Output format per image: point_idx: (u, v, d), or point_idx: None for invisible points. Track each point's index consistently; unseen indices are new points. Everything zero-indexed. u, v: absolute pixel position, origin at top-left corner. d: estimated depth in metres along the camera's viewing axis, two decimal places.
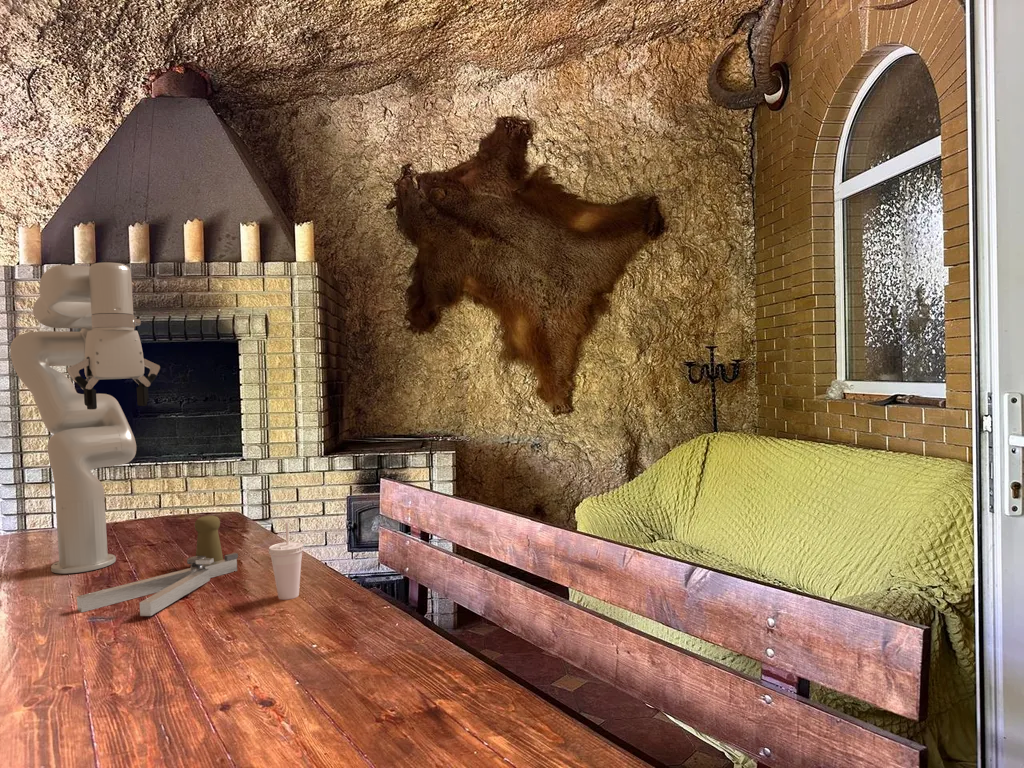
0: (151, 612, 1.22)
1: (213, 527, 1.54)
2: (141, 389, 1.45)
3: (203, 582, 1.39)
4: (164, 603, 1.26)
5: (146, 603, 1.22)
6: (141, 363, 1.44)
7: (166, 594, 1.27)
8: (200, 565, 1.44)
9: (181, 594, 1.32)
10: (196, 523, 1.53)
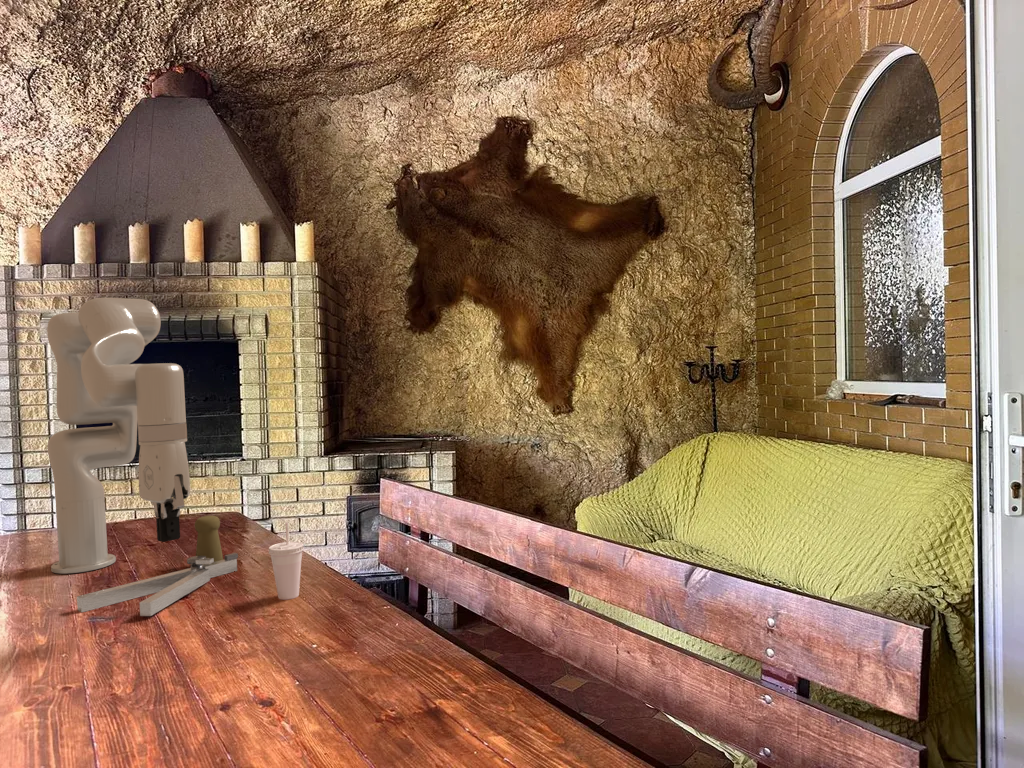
0: (151, 612, 1.22)
1: (213, 527, 1.54)
2: None
3: (203, 582, 1.39)
4: (164, 603, 1.26)
5: (146, 603, 1.22)
6: None
7: (166, 594, 1.27)
8: (200, 565, 1.44)
9: (181, 594, 1.32)
10: (196, 523, 1.53)
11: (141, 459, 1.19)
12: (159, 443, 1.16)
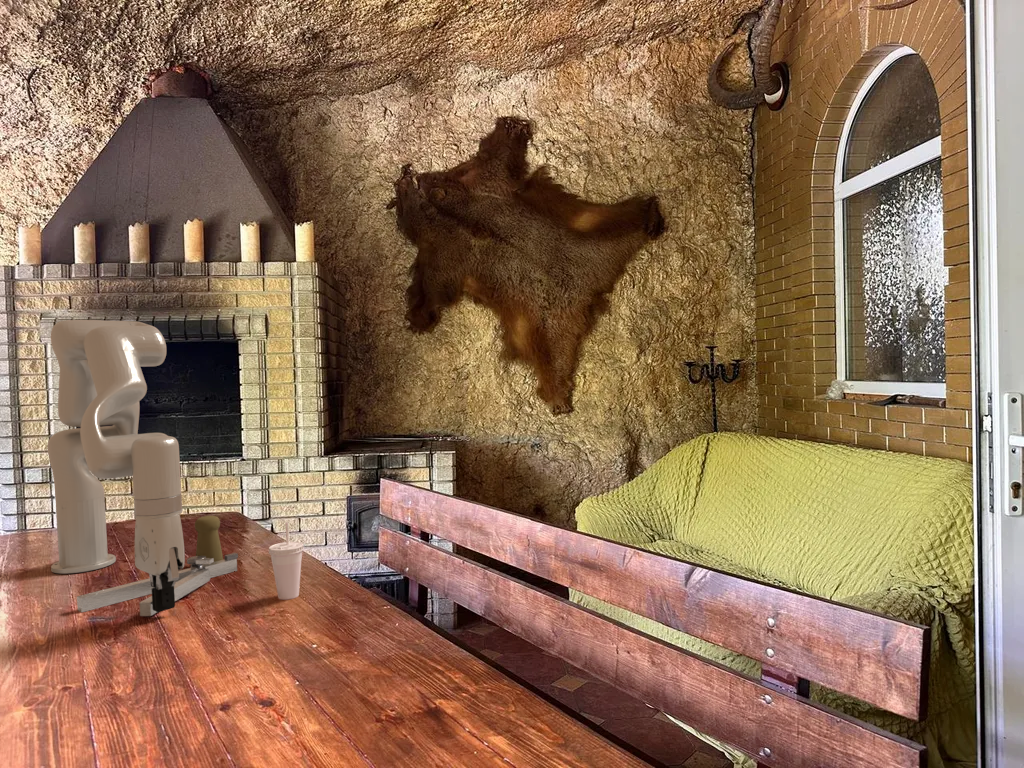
0: (151, 612, 1.22)
1: (213, 527, 1.54)
2: None
3: (203, 582, 1.39)
4: None
5: (146, 603, 1.22)
6: None
7: None
8: (200, 565, 1.44)
9: (181, 594, 1.32)
10: (196, 523, 1.53)
11: (137, 530, 1.22)
12: (154, 517, 1.19)
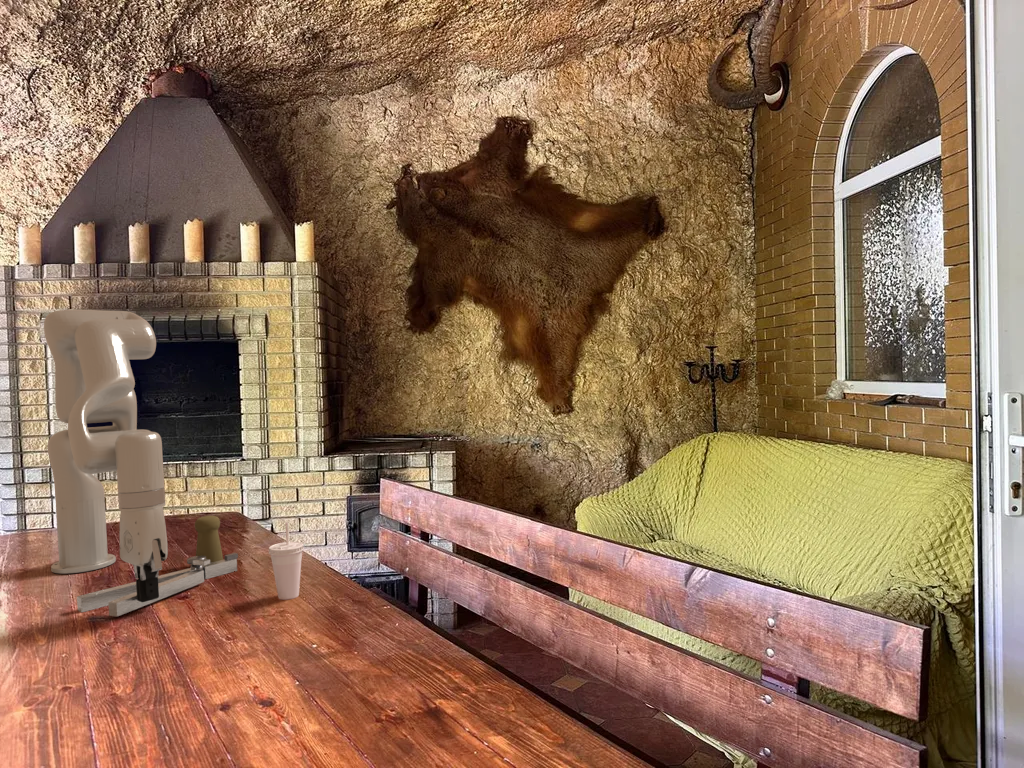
0: (118, 613, 1.22)
1: (213, 527, 1.54)
2: None
3: (194, 583, 1.39)
4: (137, 604, 1.26)
5: (113, 603, 1.22)
6: None
7: None
8: (200, 565, 1.44)
9: (162, 595, 1.31)
10: (196, 523, 1.53)
11: (121, 523, 1.26)
12: (138, 509, 1.23)
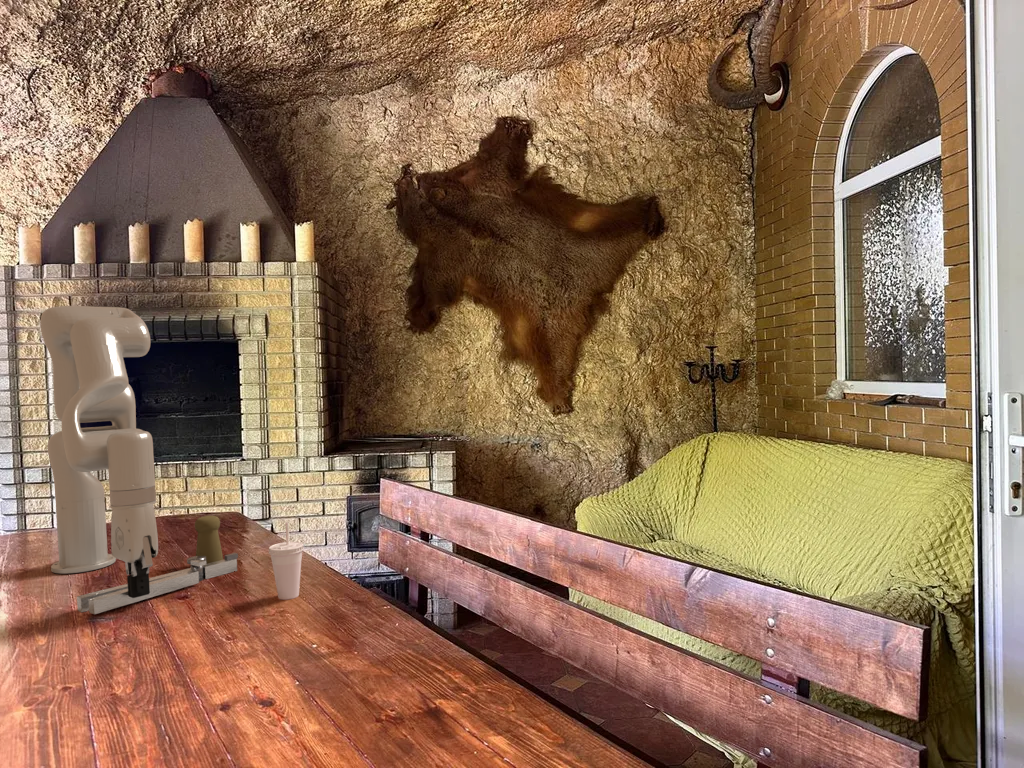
0: (95, 611, 1.24)
1: (213, 527, 1.54)
2: None
3: (187, 584, 1.38)
4: (118, 603, 1.27)
5: (92, 601, 1.24)
6: None
7: (121, 594, 1.28)
8: None
9: (147, 595, 1.32)
10: (196, 523, 1.53)
11: (113, 520, 1.28)
12: (129, 507, 1.25)
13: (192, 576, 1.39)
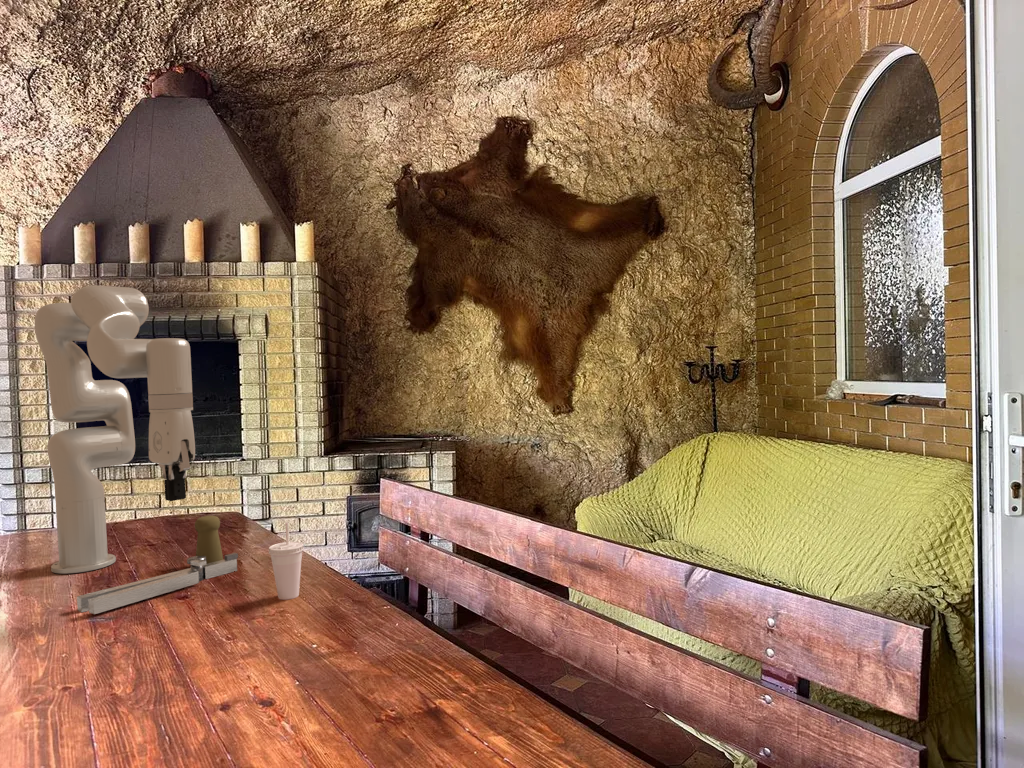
0: (95, 611, 1.24)
1: (213, 527, 1.54)
2: None
3: (187, 584, 1.38)
4: (117, 603, 1.27)
5: (91, 601, 1.24)
6: None
7: (121, 594, 1.28)
8: None
9: (147, 595, 1.32)
10: (196, 523, 1.53)
11: (151, 425, 1.31)
12: (167, 411, 1.28)
13: (192, 576, 1.39)
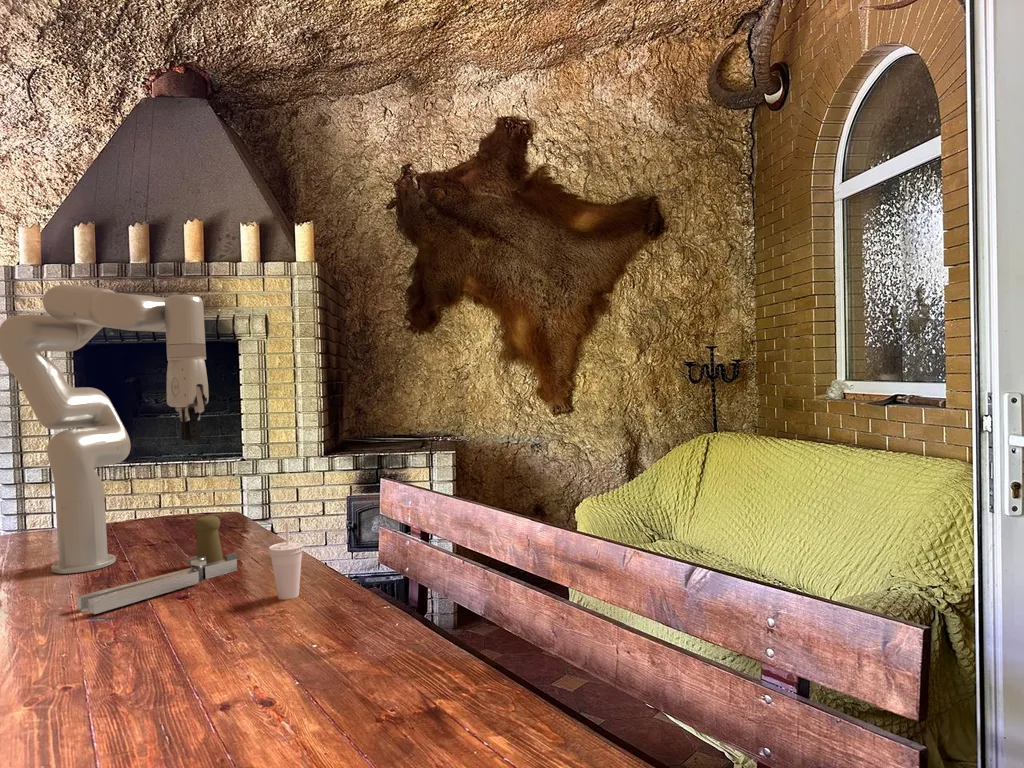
0: (95, 611, 1.24)
1: (213, 527, 1.54)
2: None
3: (187, 584, 1.38)
4: (117, 603, 1.27)
5: (91, 601, 1.24)
6: None
7: (121, 594, 1.28)
8: None
9: (147, 595, 1.32)
10: (196, 523, 1.53)
11: (169, 373, 1.47)
12: (184, 358, 1.43)
13: (192, 576, 1.39)
